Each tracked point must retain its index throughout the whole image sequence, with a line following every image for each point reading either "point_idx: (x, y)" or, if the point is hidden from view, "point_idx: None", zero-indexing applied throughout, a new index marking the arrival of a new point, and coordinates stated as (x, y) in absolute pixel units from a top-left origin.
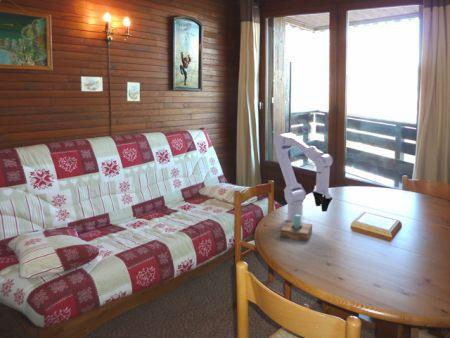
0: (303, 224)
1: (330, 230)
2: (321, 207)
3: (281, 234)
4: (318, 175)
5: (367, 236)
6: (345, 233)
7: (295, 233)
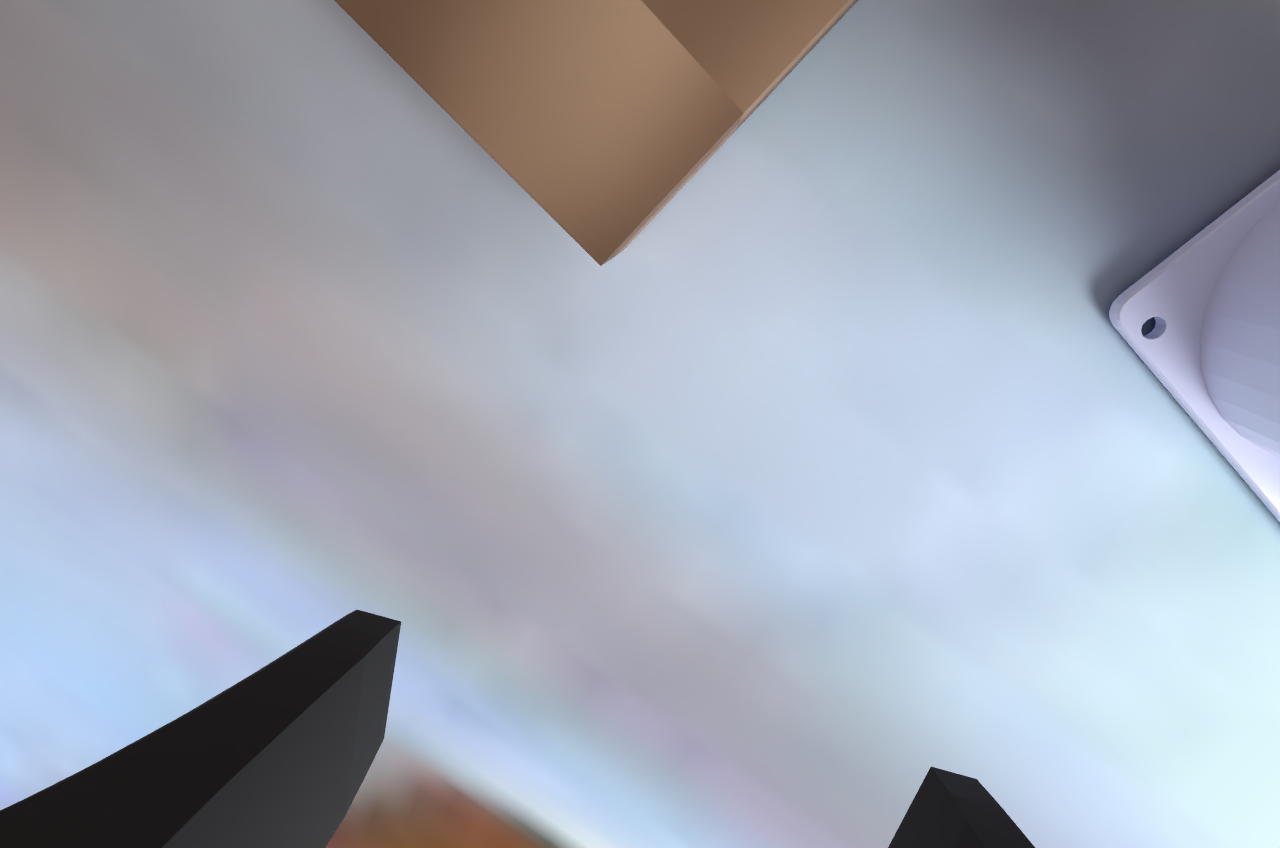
0: (675, 40)
1: (555, 558)
2: (316, 696)
3: None
4: None
5: None
6: None
7: None
